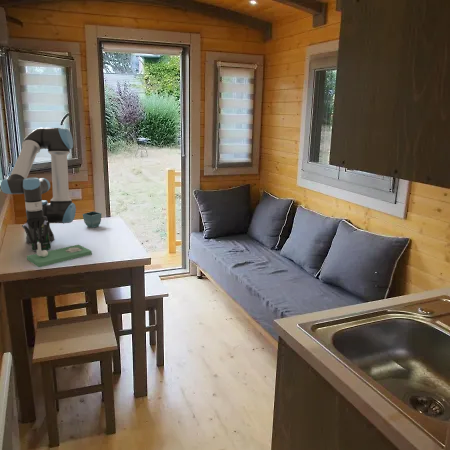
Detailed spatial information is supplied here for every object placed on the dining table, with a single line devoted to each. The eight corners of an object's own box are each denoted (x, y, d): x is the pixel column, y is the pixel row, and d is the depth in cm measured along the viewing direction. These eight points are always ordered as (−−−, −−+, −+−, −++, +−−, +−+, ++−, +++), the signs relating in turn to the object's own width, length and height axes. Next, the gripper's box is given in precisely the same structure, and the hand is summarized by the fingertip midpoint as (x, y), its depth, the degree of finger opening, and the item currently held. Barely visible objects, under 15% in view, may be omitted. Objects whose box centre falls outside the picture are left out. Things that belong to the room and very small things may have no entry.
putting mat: (27, 259, 219) (26, 255, 218) (78, 247, 237) (78, 244, 237) (38, 267, 208) (38, 263, 208) (91, 254, 227) (91, 250, 227)
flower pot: (92, 229, 274) (91, 215, 272) (83, 227, 279) (82, 213, 277) (102, 226, 281) (101, 213, 279) (93, 224, 286) (92, 211, 284)
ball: (38, 252, 216) (43, 247, 217) (42, 257, 218) (47, 252, 219) (40, 254, 213) (46, 249, 215) (44, 259, 215) (50, 254, 217)
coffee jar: (32, 252, 229) (28, 219, 224) (31, 248, 236) (27, 215, 231) (51, 250, 233) (48, 217, 228) (50, 246, 240) (47, 214, 235)
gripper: (23, 213, 202) (28, 260, 208) (50, 208, 211) (55, 254, 217) (17, 210, 207) (23, 256, 213) (44, 206, 216) (49, 250, 222)
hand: (39, 255), depth 215 cm, fingers closed
